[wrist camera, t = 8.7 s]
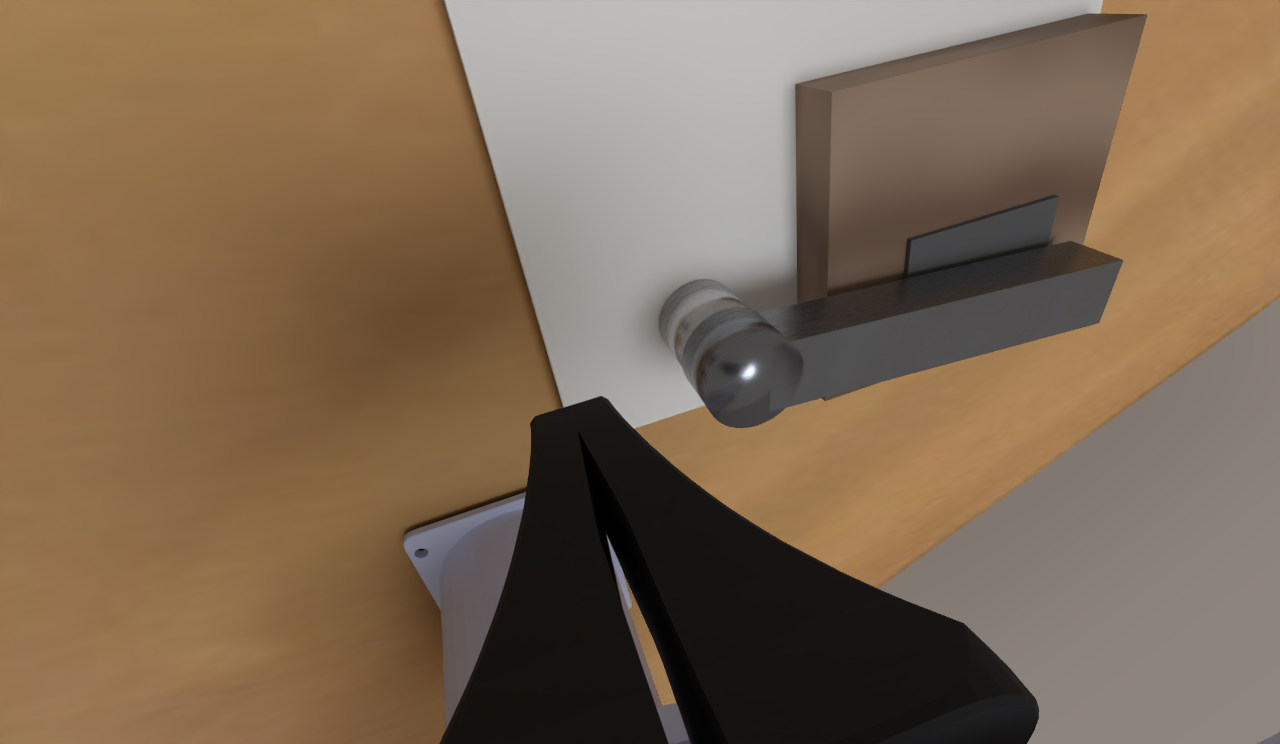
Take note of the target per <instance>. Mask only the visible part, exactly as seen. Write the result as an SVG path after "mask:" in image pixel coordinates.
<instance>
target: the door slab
mask: <svg viewBox="0 0 1280 744" xmlns="http://www.w3.org/2000/svg"><path fill="white" fill-rule="evenodd" d="M1146 18H1147V15H1144V14H1093V13H1088V14H1084V15H1080V16H1076V17H1072V18H1068V19H1063V20H1059V21H1055V22H1051V23H1047V24H1043V25H1038V26H1034V27H1030V28H1026V29H1022V30H1018V31H1013V32H1009V33H1005V34H1001V35H997V36H993V37H989V38H984V39H980V40H976V41H972V42H968V43H964V44H959V45H955V46H951V47H947V48H943V49H939V50H934V51H930V52H926V53H922V54H918V55H914V56H910V57H905V58H901V59H897V60H893V61H889V62H885V63H880V64H876V65H872V66H868V67H864V68H860V69H856V70H851V71H847V72H843V73H839V74H835V75H831V76H826V77H822V78H818V79H814V80H810V81H806V82H801V83H797V84H795V102H796V213H797V304H798V303H803V302H807V301H811V300H816V299H820V298H824V297H829V296H833V295H837V294H842V293H846V292H850V291H855V290H859V289H863V288H868V287H872V286H876V285H881V284H885V283H889V282H894V281H898V280H902V279H903V276H904V266H905V256H906V247H907V239H908V238H912V237H915V236H918V235H922V234H925V233H928V232H932V231H935V230H939V229H942V228H945V227H949V226H952V225H955V224H959V223H962V222H965V221H969V220H972V219H975V218H979V217H982V216H985V215H989V214H992V213H995V212H999V211H1002V210H1005V209H1009V208H1012V207H1016V206H1019V205H1022V204H1026V203H1029V202H1032V201H1036V200H1039V199H1042V198H1046V197H1049V196H1052V195H1057V196H1059V201H1058V205H1057V209H1056V213H1055V217H1054V221H1053V225H1052V229H1051V233H1050V237H1049V241H1048V245H1047V246H1050V245H1054V244H1058V243H1063V242H1067V241H1073V242H1076V243H1078V244H1081V245H1083V242H1084V239H1085V235H1086V232H1087V228H1088V224H1089V221H1090V217H1091V214H1092V210H1093V207H1094V203H1095V200H1096V196H1097V192H1098V189H1099V185H1100V182H1101V178H1102V175H1103V171H1104V167H1105V164H1106V160H1107V157H1108V153H1109V150H1110V146H1111V142H1112V139H1113V135H1114V132H1115V128H1116V125H1117V121H1118V117H1119V114H1120V110H1121V107H1122V103H1123V100H1124V96H1125V92H1126V89H1127V85H1128V82H1129V78H1130V75H1131V71H1132V68H1133V64H1134V60H1135V57H1136V53H1137V50H1138V46H1139V43H1140V39H1141V35H1142V32H1143V28H1144V25H1145V21H1146ZM875 384H876V383H875ZM871 385H873V384H871ZM868 386H870V385H868ZM868 386H864V387H860V388H856V389H853V390H849V391H845V392H842V393H838V394H834V395H830V396H827V397H823V398H822V399H823V400H824V401H827V400H829V399H832V398H835V397H838V396H841V395H844V394H847V393H850V392H853V391H856V390H859V389H862V388H865V387H868Z"/></svg>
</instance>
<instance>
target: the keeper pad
mask: <svg viewBox="0 0 1280 744" xmlns="http://www.w3.org/2000/svg"><path fill="white" fill-rule="evenodd" d="M1058 201H1059V196H1057V195H1052V196H1049V197H1046V198H1042V199H1039V200H1036V201H1032V202H1029V203H1026V204H1022V205H1019V206H1016V207H1012V208H1009V209H1005V210H1002V211H999V212H995V213H992V214H989V215H985V216H982V217H979V218H975V219H972V220H969V221H965V222H962V223H959V224H955V225H952V226H949V227H945V228H942V229H939V230H935V231H932V232H928V233H925V234H922V235H918V236H915V237H912V238H908V239H907V247H906V256H905V266H904V276H903V279H907V278H911V277H915V276H920V275H924V274H928V273H933V272H937V271H941V270H946V269H950V268H954V267H959V266H963V265H967V264H972V263H976V262H980V261H985V260H989V259H993V258H998V257H1002V256H1006V255H1011V254H1015V253H1019V252H1024V251H1028V250H1032V249H1037V248H1041V247H1045V246H1047V245H1048V241H1049V237H1050V233H1051V229H1052V225H1053V221H1054V217H1055V213H1056V209H1057V205H1058Z"/></svg>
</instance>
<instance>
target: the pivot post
mask: <svg viewBox="0 0 1280 744" xmlns="http://www.w3.org/2000/svg"><path fill="white" fill-rule="evenodd" d="M733 307H743V308H749V307H748V306H747V305H746V304H745V303H744V302H743V301H741V300H740V299H739V298H738V297H737V296H736V295H735V294H734V293H733V292H732V291H731V290H730V289H729V288H727V287H726V286H725V285H724V284H722V283H720V282H719V281H716V280H712V279H698V280H693V281H691V282H688V283H686V284H684V285H682V286H681V287H679V288H678V289H677V290H675V291H674V292H673V293H672V294H671V295H670V296H669V298H668V299H667V300H666V302H665V303H664V305H663V307H662V309H661V312H660V316H659V332H660V335H661V338H662V340H663V341H664V343H665V344H666V346H667V347H668V348H669V350H670V351H671V352H672V354H673V355H674V357H675V358H676V359H677V361H678V362H679V364H680V365H681V366H682V356H683V351H684V347H685V345H686V342H687V340H688V338H689V337H690V335H691V334H692V332H693V331H694V330H695V328H696V327H697V326H698V325H699V324H700V323H701V322H702V321H704V320H705V319H706V318H708V317H709V316H711V315H713V314H714V313H716V312H719V311H721V310H724V309H728V308H733ZM749 309H750V308H749ZM682 368H683V366H682Z"/></svg>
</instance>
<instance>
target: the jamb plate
mask: <svg viewBox="0 0 1280 744" xmlns="http://www.w3.org/2000/svg"><path fill="white" fill-rule="evenodd" d="M443 1H444V4H445V8H446V11H447V14H448V18H449V21H450V25H451V28H452V31H453V35H454V38H455V42H456V45H457V48H458V52H459V55H460V59H461V62H462V65H463V69H464V72H465V76H466V79H467V82H468V86H469V89H470V93H471V96H472V99H473V103H474V106H475V110H476V113H477V116H478V120H479V123H480V127H481V130H482V133H483V137H484V140H485V144H486V147H487V150H488V154H489V157H490V161H491V164H492V168H493V171H494V174H495V178H496V181H497V185H498V188H499V191H500V195H501V198H502V202H503V205H504V208H505V212H506V215H507V219H508V222H509V225H510V229H511V232H512V236H513V239H514V242H515V246H516V249H517V253H518V256H519V259H520V263H521V266H522V270H523V273H524V276H525V280H526V283H527V287H528V290H529V293H530V297H531V300H532V304H533V307H534V310H535V314H536V317H537V321H538V324H539V327H540V331H541V334H542V338H543V341H544V344H545V348H546V351H547V355H548V358H549V361H550V365H551V368H552V372H553V375H554V378H555V382H556V385H557V389H558V392H559V395H560V399H561V402H562V406H563V408H564V407H567V406H570V405H573V404H577V403H580V402H583V401H586V400H590V399H593V398H596V397H599V396H603V397H605V398H607V399H609V401H610V402H611V404H612V405H613V406H614V407H615V409H616V410H617V411H618V412H619V413H620V414H621V416H622V417H623V418H624V419H625V420H626V421H627V422H628V423H629V424H630V425H631V426H632V427H633V428H634V429H635V428H638V427H641V426H644V425H647V424H650V423H653V422H656V421H659V420H662V419H665V418H668V417H671V416H674V415H677V414H680V413H683V412H686V411H689V410H692V409H695V408H698V407H701V406H704V405H705V404H704V402H703V401H702V400H701V398H700V397H699V395H698V394H697V392H696V391H695V390H694V388H693V387H692V385H691V384H690V383H689V381H688V380H687V378H686V376H685V374H684V371H683V368H682V366H681V365H680V364H679V362H678V361H677V359H676V358H675V357H674V355H673V354H672V352H671V351H670V350H669V348H668V347H667V346H666V344H665V343H664V341H663V340H662V338H661V335H660V332H659V316H660V312H661V309H662V307H663V305H664V303H665V302H666V300H667V299H668V298H669V296H670V295H671V294H672V293H673V292H674V291H675V290H677V289H678V288H679V287H681V286H682V285H684V284H686V283H688V282H691V281H693V280H698V279H712V280H716V281H719V282H720V283H722V284H724V285H725V286H726V287H727V288H729V289H730V290H731V291H732V292H733V293H734V294H735V295H736V296H737V297H738V298H739V299H740V300H741V301H743V302H744V303H745V304H746V305H747V306H748V307H749V308H750V309H752V310H754V311H757V312H758V313H759V312H764V311H768V310H772V309H777V308H781V307H785V306H790V305H794V304H797V213H796V102H795V84H797V83H801V82H806V81H810V80H814V79H818V78H822V77H826V76H831V75H835V74H839V73H843V72H847V71H851V70H856V69H860V68H864V67H868V66H872V65H876V64H880V63H885V62H889V61H893V60H897V59H901V58H905V57H910V56H914V55H918V54H922V53H926V52H930V51H934V50H939V49H943V48H947V47H951V46H955V45H959V44H964V43H968V42H972V41H976V40H980V39H984V38H989V37H993V36H997V35H1001V34H1005V33H1009V32H1013V31H1018V30H1022V29H1026V28H1030V27H1034V26H1038V25H1043V24H1047V23H1051V22H1055V21H1059V20H1063V19H1068V18H1072V17H1076V16H1080V15H1084V14H1088V13H1093V14H1100V11H1101V7H1102V3H1103V0H443Z"/></svg>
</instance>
